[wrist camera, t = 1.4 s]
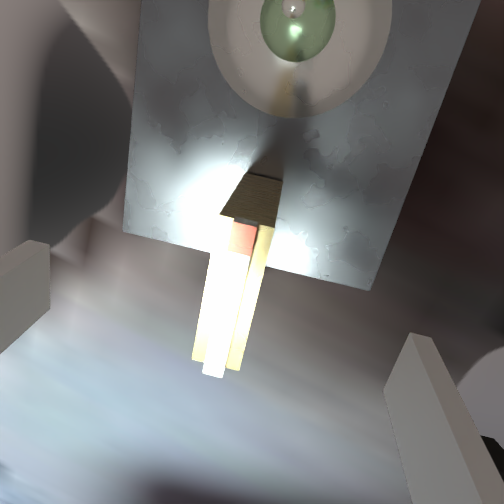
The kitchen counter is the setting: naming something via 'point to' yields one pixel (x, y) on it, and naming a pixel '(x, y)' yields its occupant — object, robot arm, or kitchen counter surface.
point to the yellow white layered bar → (236, 273)
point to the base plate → (288, 119)
